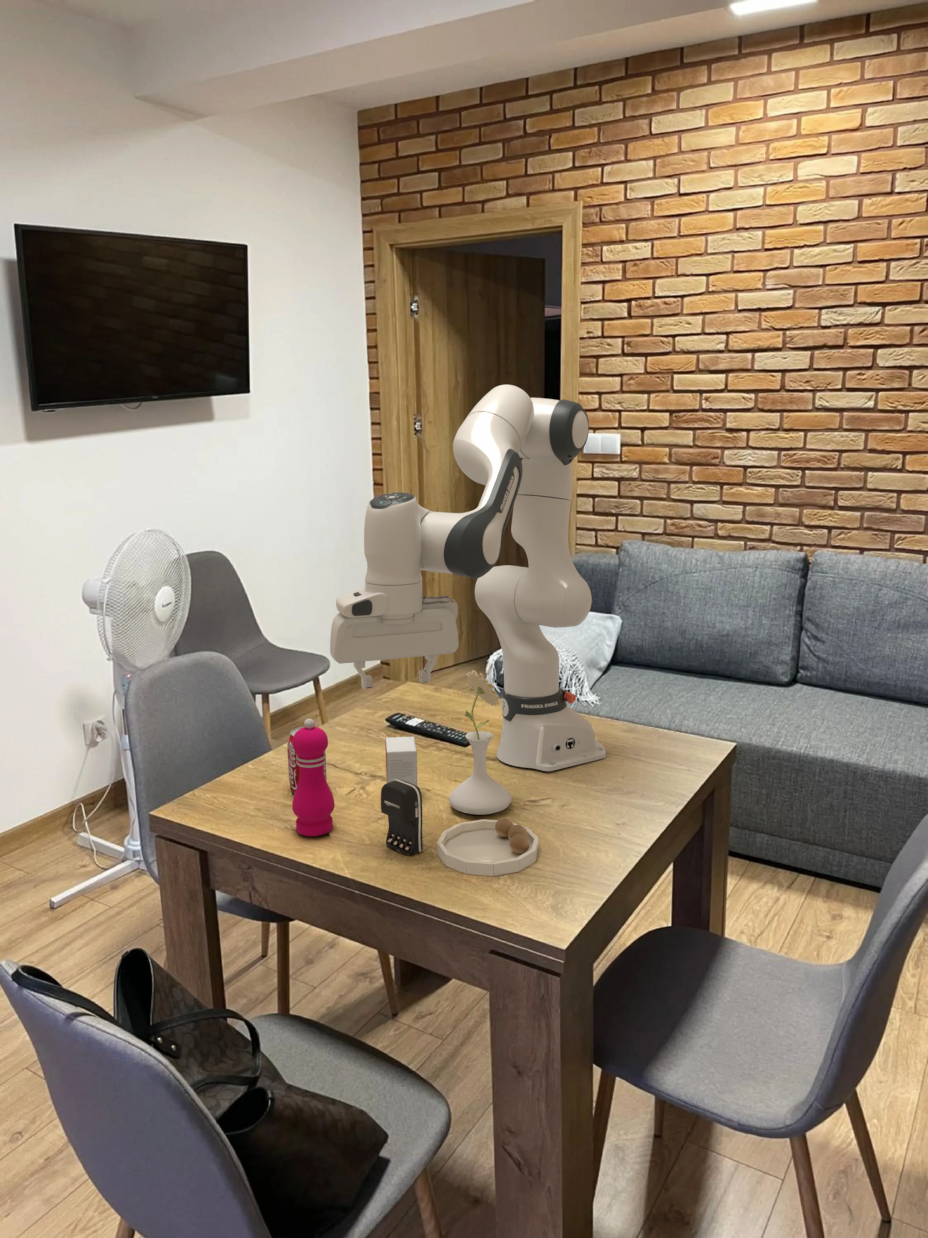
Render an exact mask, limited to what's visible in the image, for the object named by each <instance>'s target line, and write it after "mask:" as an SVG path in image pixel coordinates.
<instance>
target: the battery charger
mask: <svg viewBox="0 0 928 1238" xmlns="http://www.w3.org/2000/svg"><path fill="white" fill-rule="evenodd" d="M417 786H418V785H417ZM417 786H416V785H414V784H411V783H409V782H406V781H403V780H399V779H395V780H393V781H391V782H389V783H387V782H386V783H384V785H382V786H381V790H380V813H382V814H384V815H387V819H388V820H387V822H388V831H387V835H386V839H385V845H386V847H388V848H391V850H394V851H397V852H399V853H401V854H404V855H407V856H411V855H414V854H417V853H421V852H422V851H423V849H424V848H423V847H424V846H423V796H422V791H421V789H420V788H419V786H418V787H417Z"/></svg>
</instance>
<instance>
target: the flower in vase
mask: <svg viewBox="0 0 928 1238" xmlns="http://www.w3.org/2000/svg"><path fill="white" fill-rule="evenodd" d="M466 678H467V682H468V684H469V685H470V686H471V688H472V690H473V691H474V692H475V694H476V695H475V697H474V700H473V703H472V706H471V712H470V711H469V710H467V709H466V710H465V713H464V716H465V717H467V718H469V719H470V721H471V722H472V723H473V726H474V730H475V731H470V732H468V733H466V734H465V738H466V740H468V743H469V745H470V746H471V751H472V758H473V760H472V761H473V769H472V773H471V775H470V776H469V777H468V778H467V779H465V780H464V781H463V782H461V783H460V784H458V785H457V786H456V787H455V788H454V789H453V790H452V791H451V792H450V794H449V797H448V801H449V802H448V803H449V804H450V805H451V807H452V808H453V809H455V810H456V811H459V812H461V813H465V814H468V815H475V816H477V815H479V816H480V815H484V816H485V815H490V814H495V813H498V812H499V813H500V812H501V811H504V810H506V809H507V808H508V807H509V806H510V804H511V803H512V800H513V799H512V796H511V793H510V791H509V790H508V789H507V788H506V787H504V786H503V785H502V784H501V783H499V782H498V781H496V780H495V779H494V778H493V777H491V776H490V775H489V773H488V770H487V753H488V748H489V745H490V743H491V741H492V739H493V738H494V734H493V733H492V732H490V731H484V730H478V728H480V727H482V726H484V725H485V724H487V723H488V722H489V721H490V719H487V720H486V721H483V722H481V723H479V724H478V725H477V724H476V721H475V718H474V708H475V706H476V702H477V700H478V697H480V699H482V700H483V701H485V703H487V704H490V706H492V707H493V706H497V705H499V704H500V702H499V699H500V696H499V695H498V694H497V691H496V690H495V685H494V684H493V683H491V682H489V680H488V679H487V678H485V677H484V674H483V673H481V672H480V673H479V674H478V673H477V671H476V670H474V669H472V670H471V672H470V671H468V672H467V673H466Z"/></svg>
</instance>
